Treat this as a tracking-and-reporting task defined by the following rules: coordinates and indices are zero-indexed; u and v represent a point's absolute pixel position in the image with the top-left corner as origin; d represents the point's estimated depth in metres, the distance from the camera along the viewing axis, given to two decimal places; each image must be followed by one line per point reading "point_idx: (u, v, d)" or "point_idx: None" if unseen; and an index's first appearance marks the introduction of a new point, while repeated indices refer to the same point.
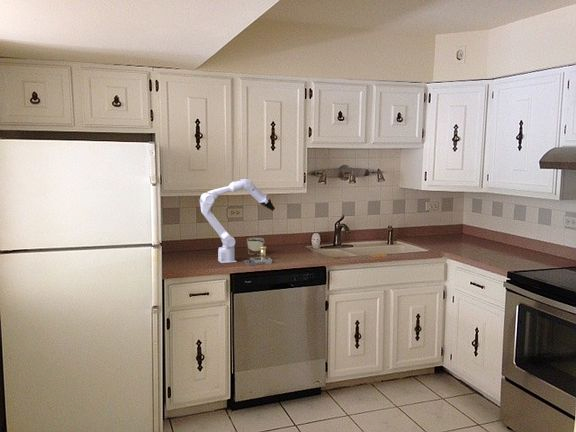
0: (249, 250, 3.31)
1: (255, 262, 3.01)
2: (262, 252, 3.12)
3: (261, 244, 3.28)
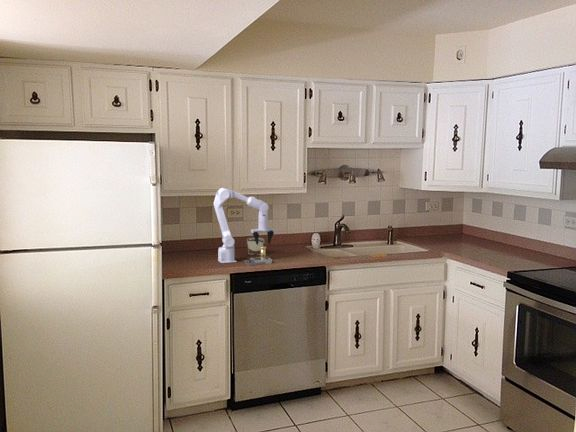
0: (249, 250, 3.31)
1: (255, 262, 3.01)
2: (262, 252, 3.12)
3: (261, 244, 3.28)
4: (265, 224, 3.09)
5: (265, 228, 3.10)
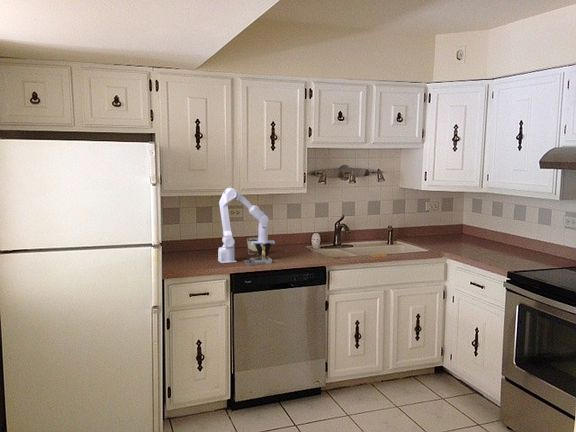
0: (249, 250, 3.31)
1: (255, 262, 3.01)
2: (262, 252, 3.12)
3: (261, 244, 3.28)
4: (265, 236, 3.10)
5: (265, 240, 3.11)
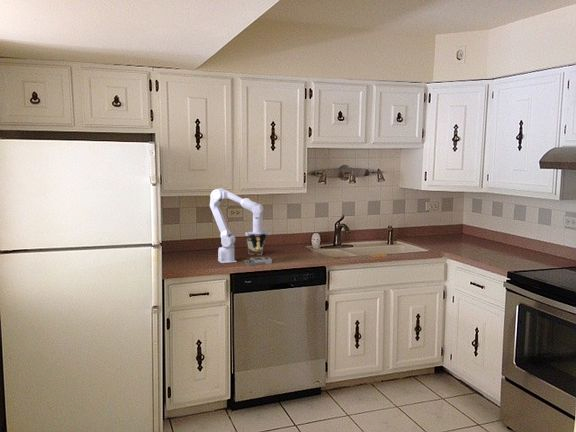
0: (249, 250, 3.31)
1: (255, 262, 3.01)
2: (257, 243, 3.03)
3: None
4: (260, 227, 3.01)
5: (260, 231, 3.01)
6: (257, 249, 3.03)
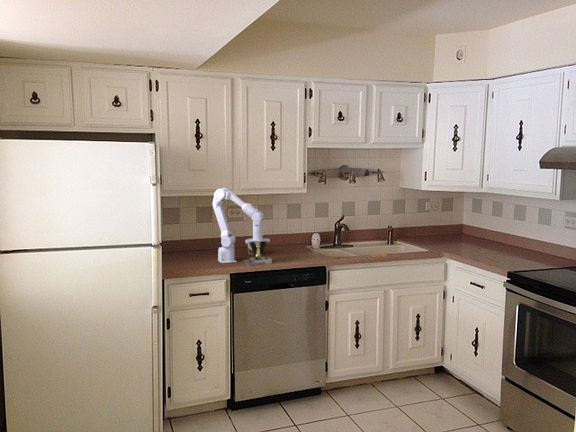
0: (249, 250, 3.31)
1: (255, 262, 3.01)
2: (257, 251, 3.04)
3: None
4: (260, 234, 3.01)
5: (260, 238, 3.02)
6: (257, 256, 3.04)
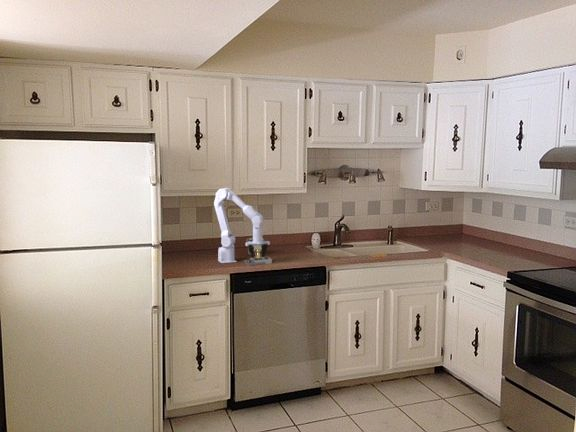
0: None
1: (255, 262, 3.01)
2: (257, 255, 3.04)
3: None
4: (260, 237, 3.01)
5: (260, 241, 3.02)
6: None
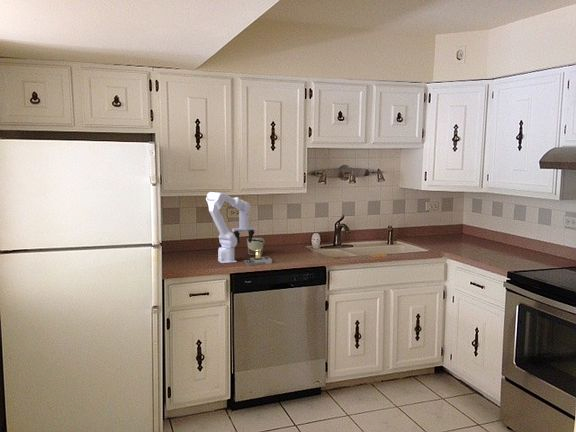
0: (249, 250, 3.31)
1: (255, 262, 3.01)
2: (257, 255, 3.04)
3: (261, 244, 3.28)
4: (246, 223, 3.15)
5: (246, 227, 3.15)
6: None
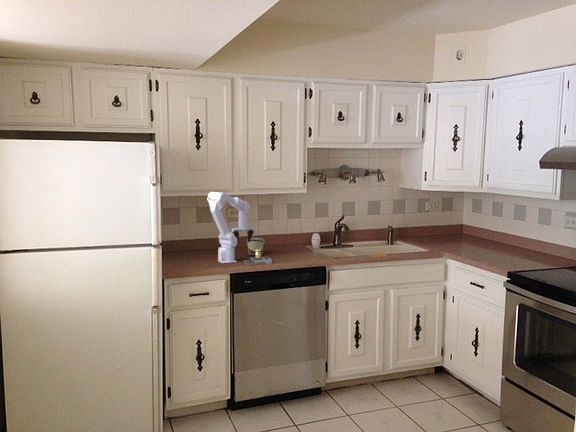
0: (249, 250, 3.31)
1: (255, 262, 3.01)
2: (257, 255, 3.04)
3: (261, 244, 3.28)
4: (245, 223, 3.16)
5: (245, 227, 3.16)
6: None
